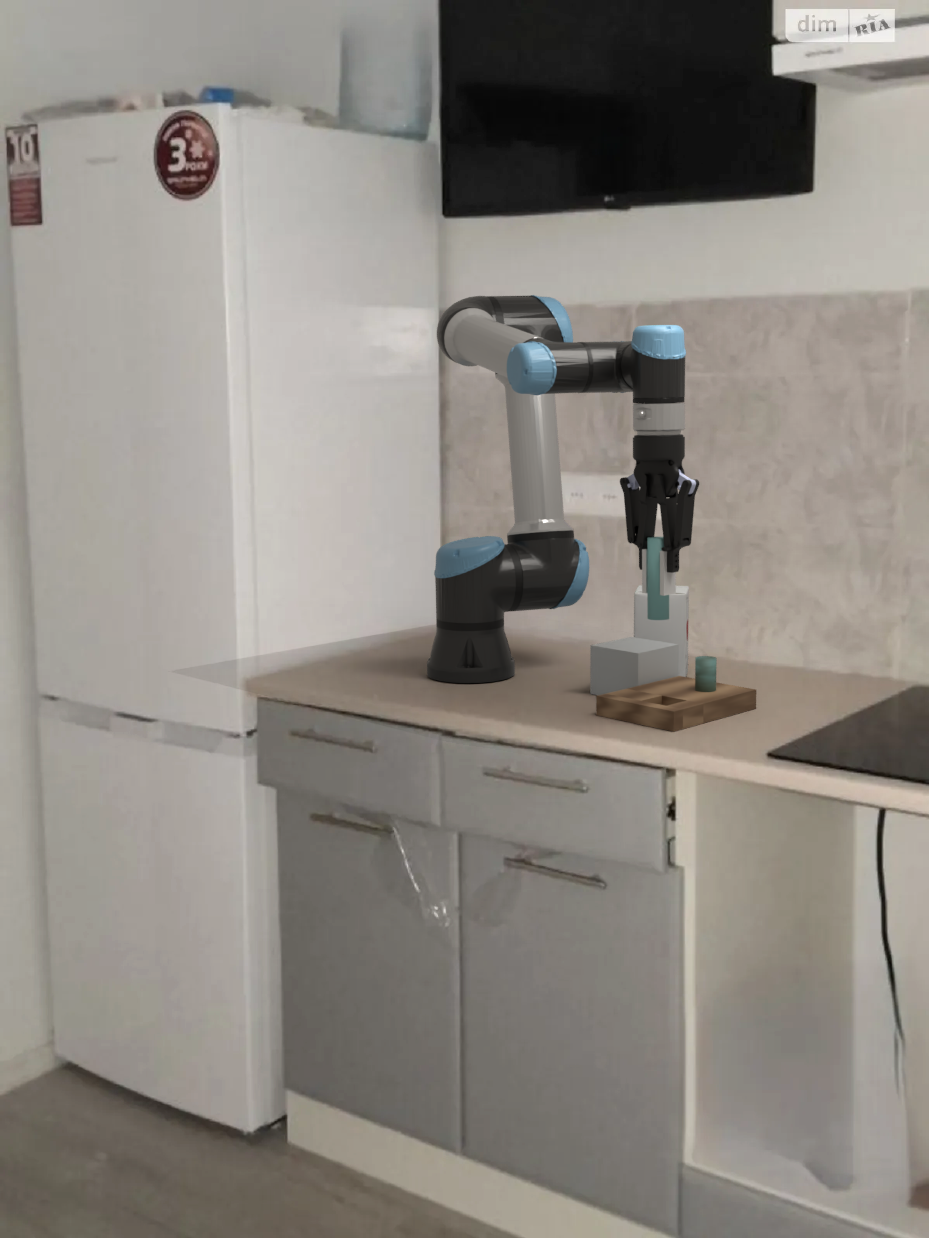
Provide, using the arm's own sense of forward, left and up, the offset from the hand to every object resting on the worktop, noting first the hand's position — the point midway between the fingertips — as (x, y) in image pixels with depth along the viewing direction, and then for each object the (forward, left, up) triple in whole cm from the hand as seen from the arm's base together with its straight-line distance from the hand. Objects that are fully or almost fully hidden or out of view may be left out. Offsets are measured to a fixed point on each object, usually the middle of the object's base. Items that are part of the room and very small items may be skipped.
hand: (658, 593), depth 225 cm
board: (-1, +6, -19) cm, 20 cm away
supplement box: (-20, +26, -20) cm, 38 cm away
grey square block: (-14, +11, -19) cm, 27 cm away
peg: (0, 0, -4) cm, 4 cm away
